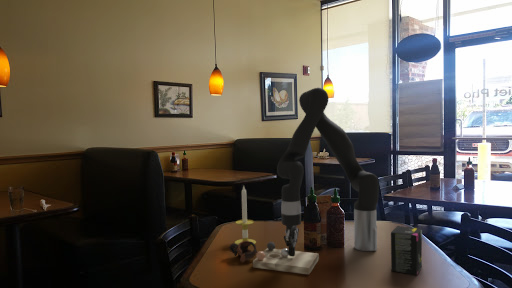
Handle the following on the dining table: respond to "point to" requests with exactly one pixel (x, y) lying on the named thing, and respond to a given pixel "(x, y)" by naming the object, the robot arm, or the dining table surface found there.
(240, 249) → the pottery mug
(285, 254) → the steel ball
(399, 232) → the tampon box
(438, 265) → the dining table surface
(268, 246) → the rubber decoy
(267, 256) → the board
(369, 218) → the robot arm
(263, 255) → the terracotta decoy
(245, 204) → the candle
